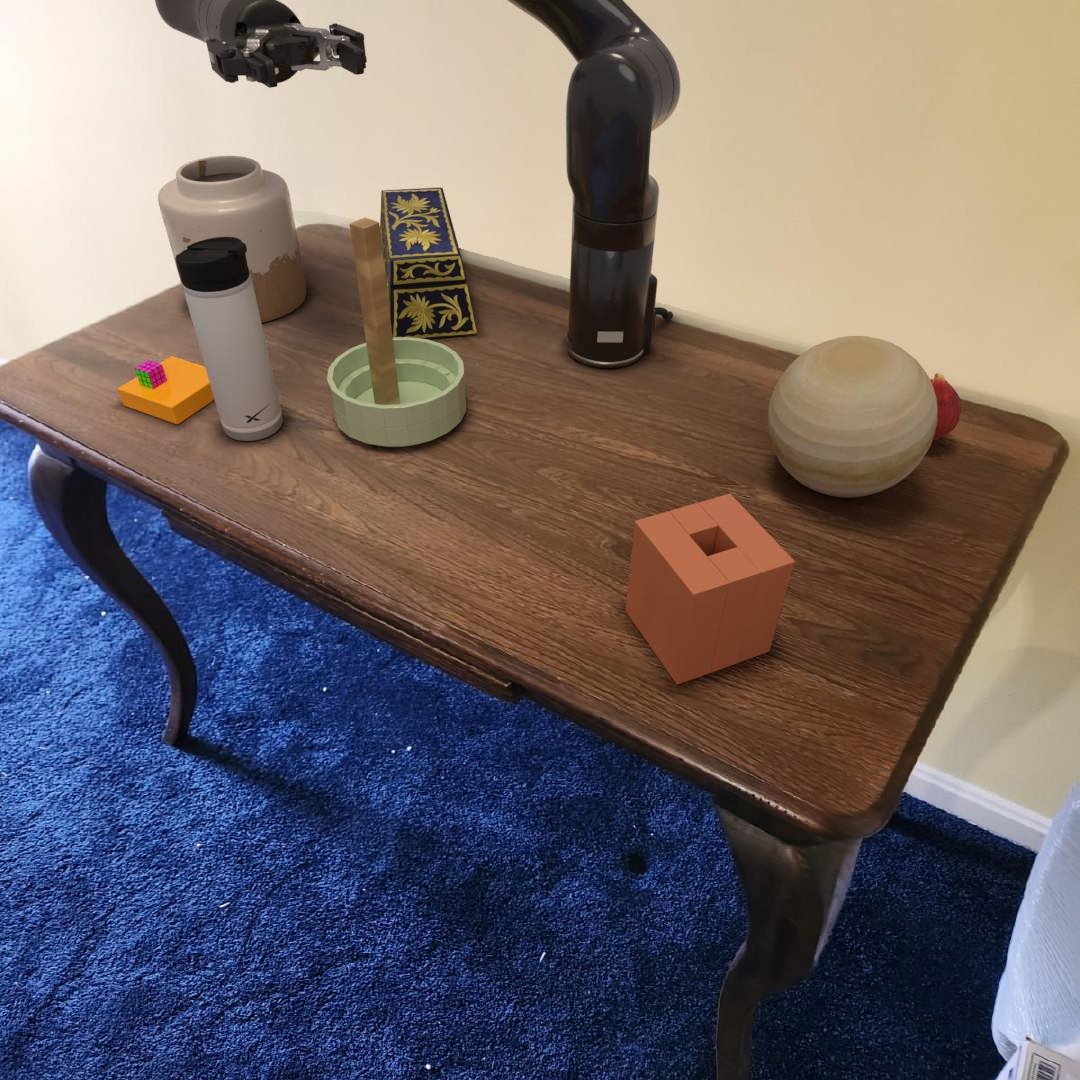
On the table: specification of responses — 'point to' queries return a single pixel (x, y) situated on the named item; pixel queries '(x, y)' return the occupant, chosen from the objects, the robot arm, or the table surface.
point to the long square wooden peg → (375, 310)
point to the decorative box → (423, 266)
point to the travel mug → (231, 336)
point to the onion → (945, 406)
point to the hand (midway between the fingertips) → (317, 68)
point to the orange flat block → (168, 389)
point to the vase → (239, 223)
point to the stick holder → (706, 586)
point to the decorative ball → (852, 416)
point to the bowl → (424, 394)
